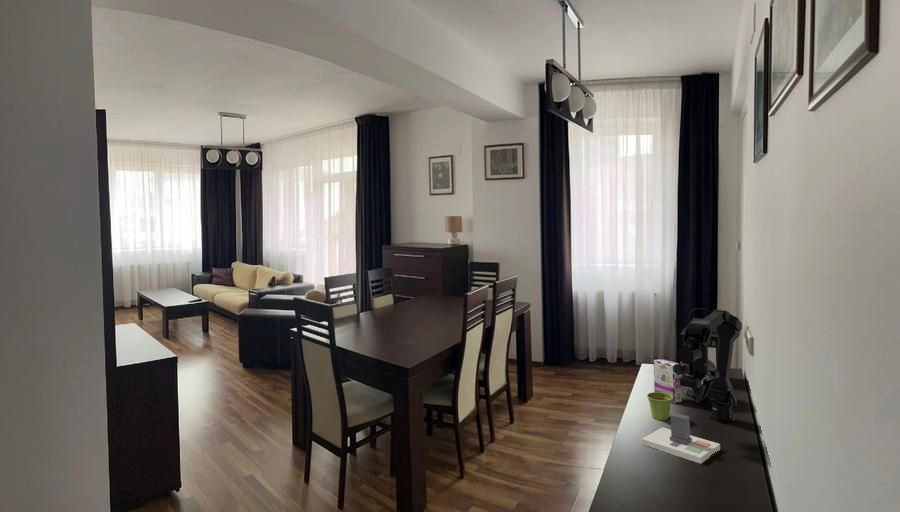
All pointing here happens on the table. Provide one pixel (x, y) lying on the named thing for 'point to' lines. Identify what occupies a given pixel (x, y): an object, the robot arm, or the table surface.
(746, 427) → the table surface
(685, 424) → the handle
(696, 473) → the table surface
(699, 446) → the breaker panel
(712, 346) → the lantern
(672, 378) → the candy bar box
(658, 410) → the plant pot
